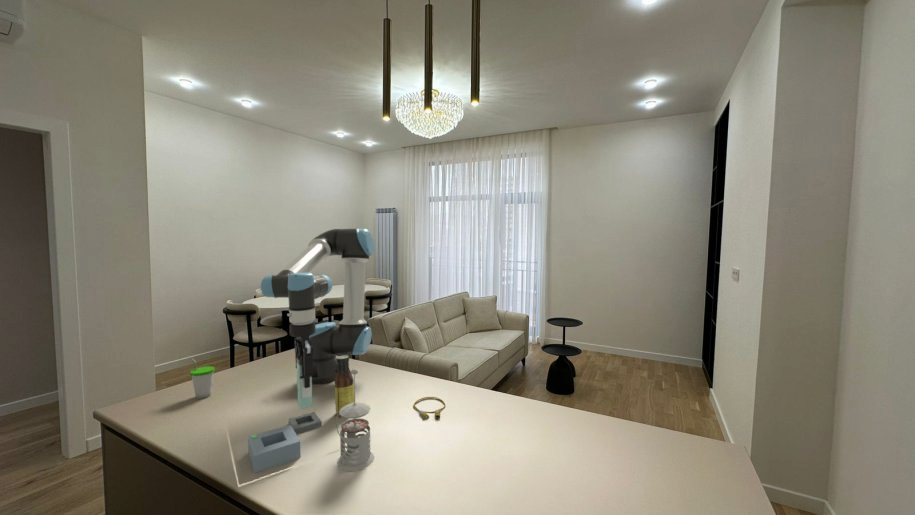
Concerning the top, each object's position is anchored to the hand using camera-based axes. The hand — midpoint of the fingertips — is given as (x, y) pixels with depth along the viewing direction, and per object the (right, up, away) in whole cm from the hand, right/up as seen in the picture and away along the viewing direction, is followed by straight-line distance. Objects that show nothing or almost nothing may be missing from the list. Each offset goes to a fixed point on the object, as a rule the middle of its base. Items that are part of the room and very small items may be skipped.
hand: (304, 394), depth 115 cm
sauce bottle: (+10, -10, +8) cm, 16 cm away
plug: (0, -4, 0) cm, 4 cm away
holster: (0, -10, 0) cm, 10 cm away
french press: (+20, -11, -17) cm, 29 cm away
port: (-2, -11, -16) cm, 20 cm away
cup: (-48, -10, +23) cm, 54 cm away
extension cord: (+39, -10, +12) cm, 42 cm away
